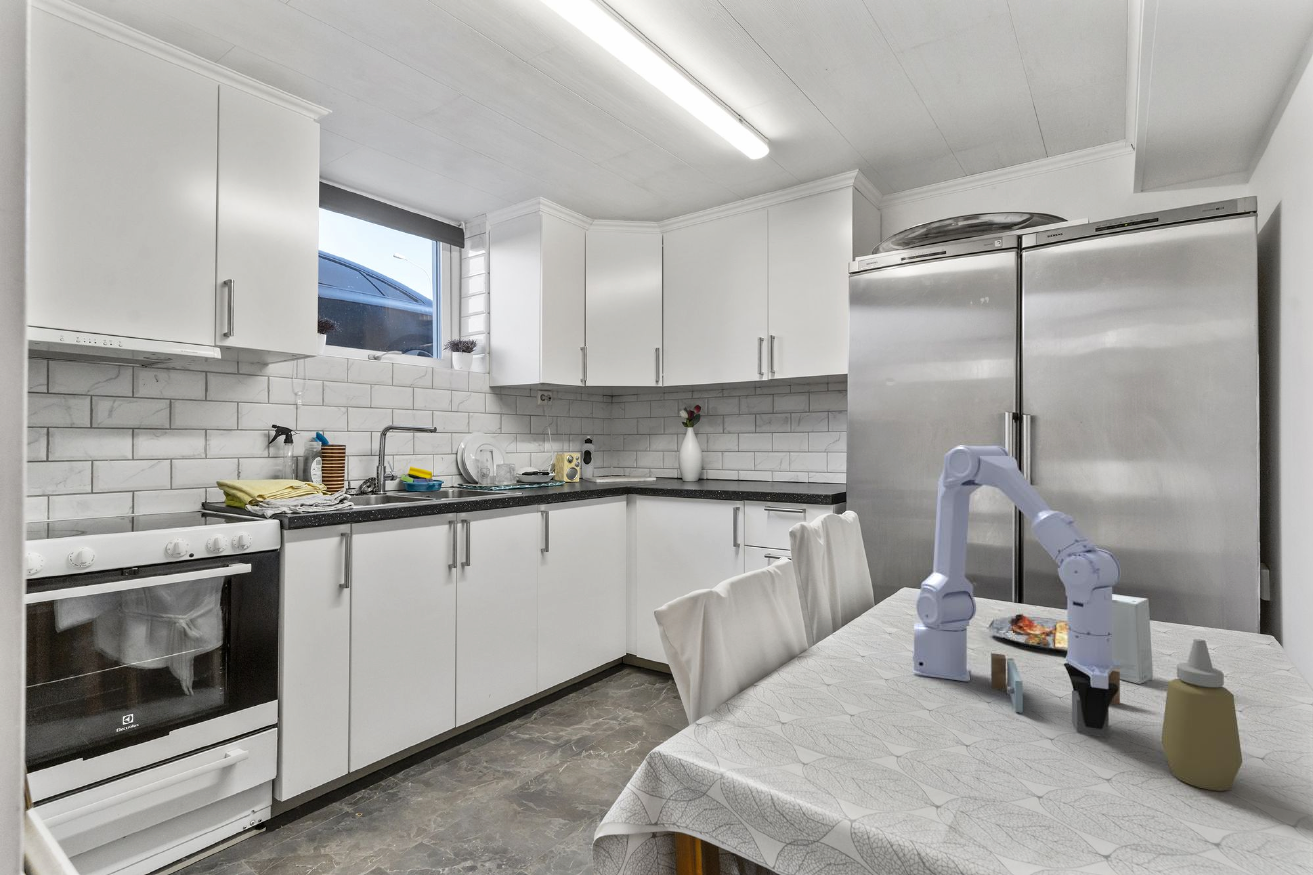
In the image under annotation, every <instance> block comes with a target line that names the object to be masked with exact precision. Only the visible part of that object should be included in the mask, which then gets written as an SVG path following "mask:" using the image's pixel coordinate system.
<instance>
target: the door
mask: <svg viewBox="0 0 1313 875" xmlns="http://www.w3.org/2000/svg"><path fill="white" fill-rule="evenodd" d="M1006 693H1008V694H1009V696H1010V700H1011V702H1012V705H1013V708H1014V712H1015V713H1021V714H1022V713H1024V712H1023V711H1024V710H1023V708H1024V707H1023V680H1022V677H1021V674H1020V671H1019V670H1018V667H1017V664H1016V662H1015V659H1013V658H1010V657H1008V658H1007V657H1006Z"/></svg>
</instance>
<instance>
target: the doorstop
mask: <svg viewBox="0 0 1313 875" xmlns="http://www.w3.org/2000/svg"><path fill="white" fill-rule="evenodd" d="M1109 707H1110V706H1109ZM1109 707H1108V711H1107V714H1106V719H1105V722H1104V726H1103V728H1102V729H1097V728H1090V727H1086V726H1085V723H1084V720H1083V715H1082V709H1081V703H1080V698H1079V695H1078V692H1077V691H1073V690H1071V723H1072V726H1073V727H1074V729H1075V731H1076V733H1077V734H1082V735H1090V736H1096V737H1101V738H1102V737H1104V738H1110V737H1109V736H1110V734H1109V732H1110V729H1109V728H1110V727H1109V726H1110V725H1109V724H1110V723H1109V722H1110V721H1109V720H1110V719H1109V716H1110V714H1109V710H1110V709H1109Z"/></svg>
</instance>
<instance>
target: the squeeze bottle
mask: <svg viewBox="0 0 1313 875" xmlns="http://www.w3.org/2000/svg"><path fill="white" fill-rule="evenodd" d="M1211 659H1212V658H1211V656H1210V653H1209V649H1208V645H1207V642H1206V640H1204V639H1200V638H1199V639H1198V638H1194V639H1193V642H1192V644H1191V648H1190V652H1189V655H1188V659H1187V662H1184V663H1183V662H1181V663H1180V662H1179V663H1178V664H1177V665H1176V677H1177V678H1174V679H1173V680H1170V681H1169V682H1168V683H1167V690H1166V698H1165V706H1164V713H1163V714H1164V715H1163V723H1162V731H1161V740H1160V744H1161V747H1162V750H1163V752H1164V755H1165V757H1166V761H1167V763H1168V765H1169V768H1170V769H1169V770H1170V771H1171V773H1172V775H1173V776H1174V777H1175V778H1176V779H1178V780H1179V781H1181V782H1183V783H1186V784H1188V785H1191V786H1194V787H1197V788H1201V789H1204V790H1210V791H1220V792H1221V791H1227V790H1230V789H1231V787H1232V785H1233V783H1234V781H1235V779H1236V776H1237V774H1238V773H1239V770H1240V768H1241V766H1242V764H1243V757H1242V756H1243V754H1242V749H1241V741H1240V734H1239V725H1238V718H1237V711H1236V704H1235V698H1234V696H1235V695H1234V694H1233V693H1232V692H1231V691H1230V690H1229V689H1227V688H1226V687H1225V686H1224V684H1225V679H1224V678H1225V674H1224V672H1223V671H1222V670H1220V669H1218V668H1215V667H1213V663H1212V661H1211Z"/></svg>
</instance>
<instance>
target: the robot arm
mask: <svg viewBox="0 0 1313 875" xmlns="http://www.w3.org/2000/svg"><path fill="white" fill-rule="evenodd" d="M943 457H944V458H943V470H942V472H941V475H940V477H939V480H938V485H937V501H936V514H935V515H936V518H935V535H934V536H935V537H934V551H933V553H934V554H933V568H932V570H933V571H932V573H931V574H930V575H929V576H928V577H927V578H926V579H925V580H923V581H922V582H921V584H920V592H919V595H918V596H917V599H916V600H915V601H916V602H915V608H916V613H917V615H918V617H919V619H920V621H921V622H914V627H913V628H914V629H913V651H912V662H913V674H914V675H916V676H924V677H931V678H932V677H933V678H940V679H945V680H946V679H947V680H954V681H955V680H956V681H962V682H971V677H970V670H969V669H970V668H969V666H968V663H967V662H968V658H967V657H968V642H967V641H968V633H967V632H968V627H969V626H970V621H971V620H972V619H973V618H975V615H976V612H977V605H976V604H977V603H976V600H975V597H974V585H973V584H972V583H971V582H970V581H969V579H968V578H966V563H967V562H966V560H967V549H968V547H967V545H968V530H969V515H970V500H971V499H970V498H971V494H973V493H974V492H975V491H977V490H978V489H980V488H981V487H982V486H987V487H993V488H996V489H999V490H1000V491H1001V492H1002V494H1004V495H1005V496H1006V497H1007V498H1008V499H1009V500H1010V502H1012V504H1013V505H1014V506H1015V507H1016V508H1018V510H1019V511H1020V512H1021V513H1023V515H1024V516H1025V517H1026V518H1027V519H1028V520H1029V521H1030V522H1031V526H1030V527H1031V528H1030V532H1031V534H1032V536H1034V538H1035V539H1036V540H1037V542H1038V543H1039V544H1040V545H1041V546H1042V547H1043V549H1045V551H1046V552H1047V554H1049V556H1050V557H1051V558H1052V559H1053V560H1054V562H1055V563H1056V564H1057V565H1058V566H1059V567H1058V568H1057V574H1058V577H1059V578H1060V581H1061V582H1062V584H1063V585H1064V587H1065V596H1066V597H1067V603H1066V604H1067V610H1066V612H1067V614H1066V615H1067V622H1068V627H1067V641H1068V652H1067V654H1066V655H1065V661H1066V662H1065V663H1063V666H1064V668H1065V670H1066V672H1067V674H1068V676H1069V679H1070V683H1071V686H1072V689H1073V690H1072V691H1077V692H1078V695H1079V698H1080V703H1081V709H1082V715H1083V720H1084V723H1085V726H1086V727H1090V728H1097V729H1102V728H1103V726H1104V722H1105V719H1106V714H1107V711H1108V707H1110V702H1111V701H1112V699H1113V697H1114V696H1115V695H1116V693H1117V692H1118V686H1117V684H1113V683H1108V676H1109V675H1110V673H1111V672H1112V671H1113V669H1122V664H1121V662H1119V661H1114V660H1113V659H1112V594H1113V586H1115V585H1116V584H1118V582H1119V580H1121V577H1122V576H1121V574H1122V571H1121V570H1122V569H1121V565H1120V563H1119V561H1118V560H1117V558H1115V556H1114V554H1113V553H1111V551H1110V552H1109V550H1105V549H1101V548H1098V547H1097V545H1096V544H1095V543H1094V541H1092V540H1089V538H1087V537H1086V536H1085V534H1084V533H1083V532H1082V531H1081V530H1080V529H1079V528H1078V526H1076V524H1074V523H1075V522H1076V521H1075V518H1073V517H1072V516H1071V515H1070V514H1065V513H1064V512H1062V511H1057V510H1052V509H1051V508H1050V507H1049V506H1048V505H1047V503H1046V502H1045V501H1044V500H1043V498H1042V497H1041V496H1040V495H1039V493H1038V492H1037V491H1036V490H1035V488H1034V487H1033V485H1032V484H1031V483H1030V482H1029V481H1028V479H1027V478H1026V477H1025V475H1024V474H1023V473H1022V472H1021V470H1020V469H1019V466H1018V462H1017V459H1015V458H1014V457H1013V456H1012V455H1011V454H1010V452H1008V450H1007V449H1006V448H1004V447H1003V446H1001V445H996V444H995V445H988V446H987V445H986V446H985V445H984V446H983V445H965V444H963V445H961V444H960V445H957V446H955V447H953V448H952V449H951V450H950V451H948V452H946V454H944V456H943Z"/></svg>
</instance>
